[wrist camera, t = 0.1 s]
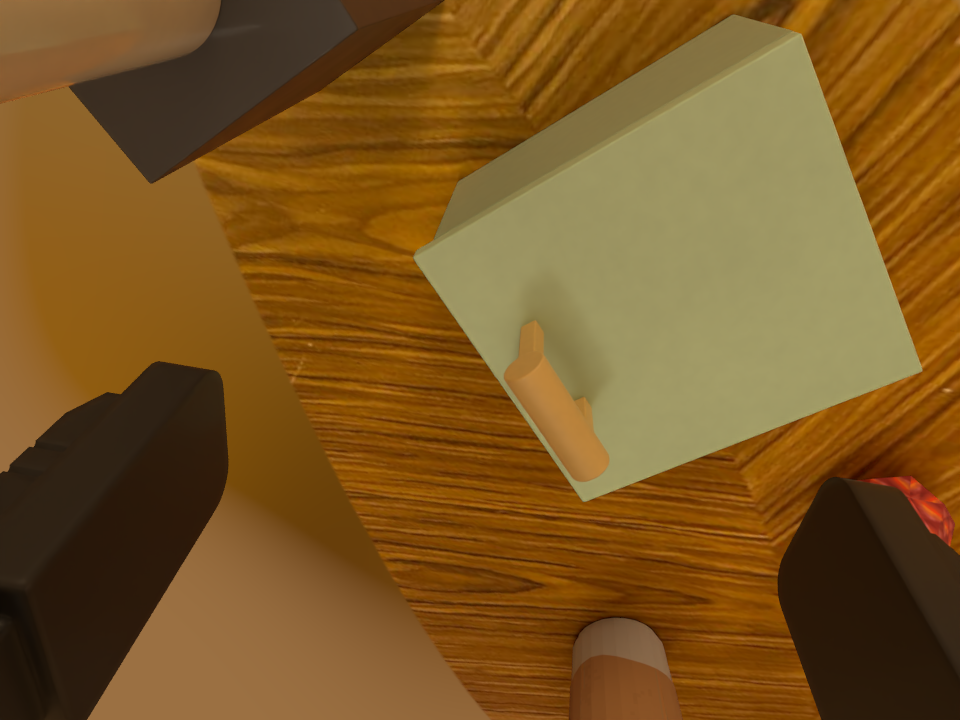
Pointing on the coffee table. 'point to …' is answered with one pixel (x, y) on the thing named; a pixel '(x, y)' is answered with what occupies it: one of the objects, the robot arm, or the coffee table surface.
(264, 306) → the coffee table surface
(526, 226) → the chest lid
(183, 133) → the block
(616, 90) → the chest
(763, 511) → the coffee table surface
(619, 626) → the coffee cup
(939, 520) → the red faceted ball
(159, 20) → the canister
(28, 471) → the robot arm
